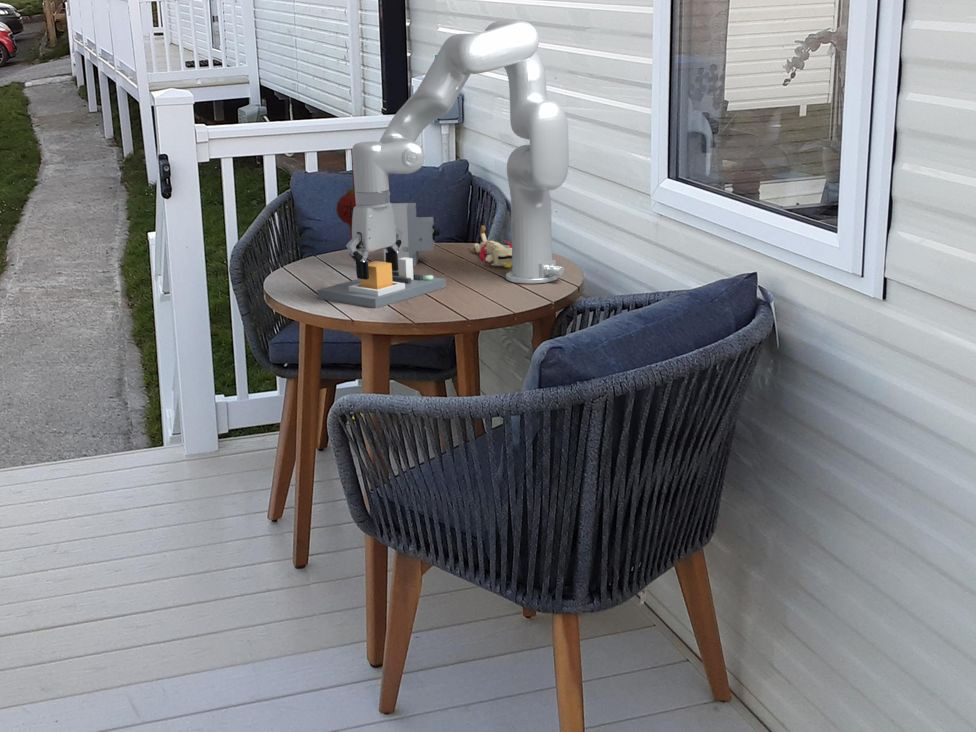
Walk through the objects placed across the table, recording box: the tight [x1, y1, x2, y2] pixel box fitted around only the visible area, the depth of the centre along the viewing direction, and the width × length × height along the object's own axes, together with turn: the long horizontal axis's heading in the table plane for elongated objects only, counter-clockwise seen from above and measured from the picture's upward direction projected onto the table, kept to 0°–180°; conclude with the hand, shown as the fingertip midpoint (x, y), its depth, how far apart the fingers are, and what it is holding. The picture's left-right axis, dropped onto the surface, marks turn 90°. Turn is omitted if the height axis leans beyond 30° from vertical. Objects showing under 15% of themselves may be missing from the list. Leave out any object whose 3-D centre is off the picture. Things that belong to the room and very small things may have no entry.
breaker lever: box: [398, 257, 414, 280], centre depth 272 cm, size 2×2×5 cm
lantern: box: [336, 148, 356, 240], centre depth 294 cm, size 10×10×30 cm
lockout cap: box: [361, 260, 393, 290], centre depth 263 cm, size 5×5×6 cm
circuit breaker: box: [382, 202, 441, 267], centre depth 301 cm, size 8×14×15 cm, turn 89°
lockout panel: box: [316, 270, 447, 309], centre depth 270 cm, size 18×24×3 cm
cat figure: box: [471, 224, 512, 268], centre depth 302 cm, size 10×9×25 cm
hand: (378, 274), depth 263 cm, fingers open, 9 cm apart
